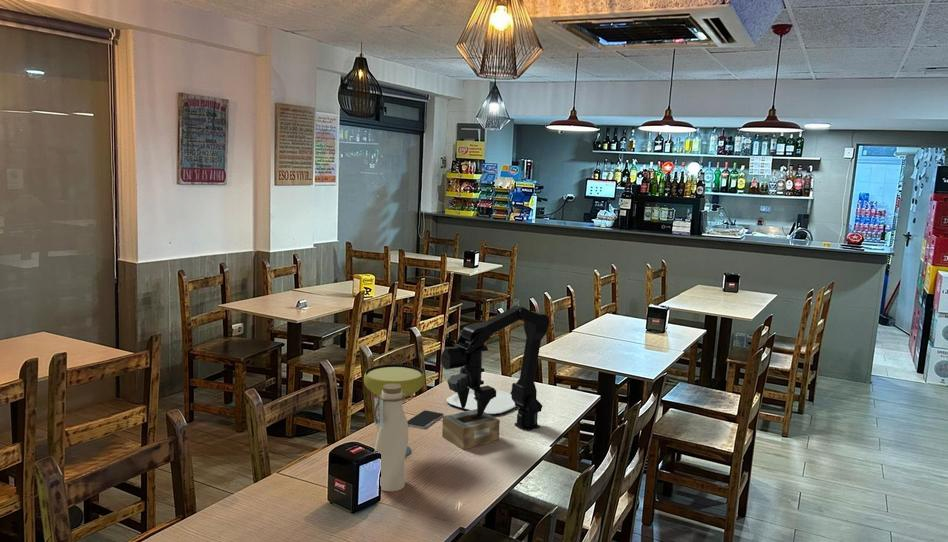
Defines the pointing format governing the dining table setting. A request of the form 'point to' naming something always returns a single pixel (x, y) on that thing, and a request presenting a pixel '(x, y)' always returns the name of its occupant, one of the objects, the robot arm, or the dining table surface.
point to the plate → (495, 405)
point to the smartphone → (424, 419)
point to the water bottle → (391, 436)
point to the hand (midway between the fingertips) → (471, 412)
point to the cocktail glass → (394, 380)
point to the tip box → (470, 429)
